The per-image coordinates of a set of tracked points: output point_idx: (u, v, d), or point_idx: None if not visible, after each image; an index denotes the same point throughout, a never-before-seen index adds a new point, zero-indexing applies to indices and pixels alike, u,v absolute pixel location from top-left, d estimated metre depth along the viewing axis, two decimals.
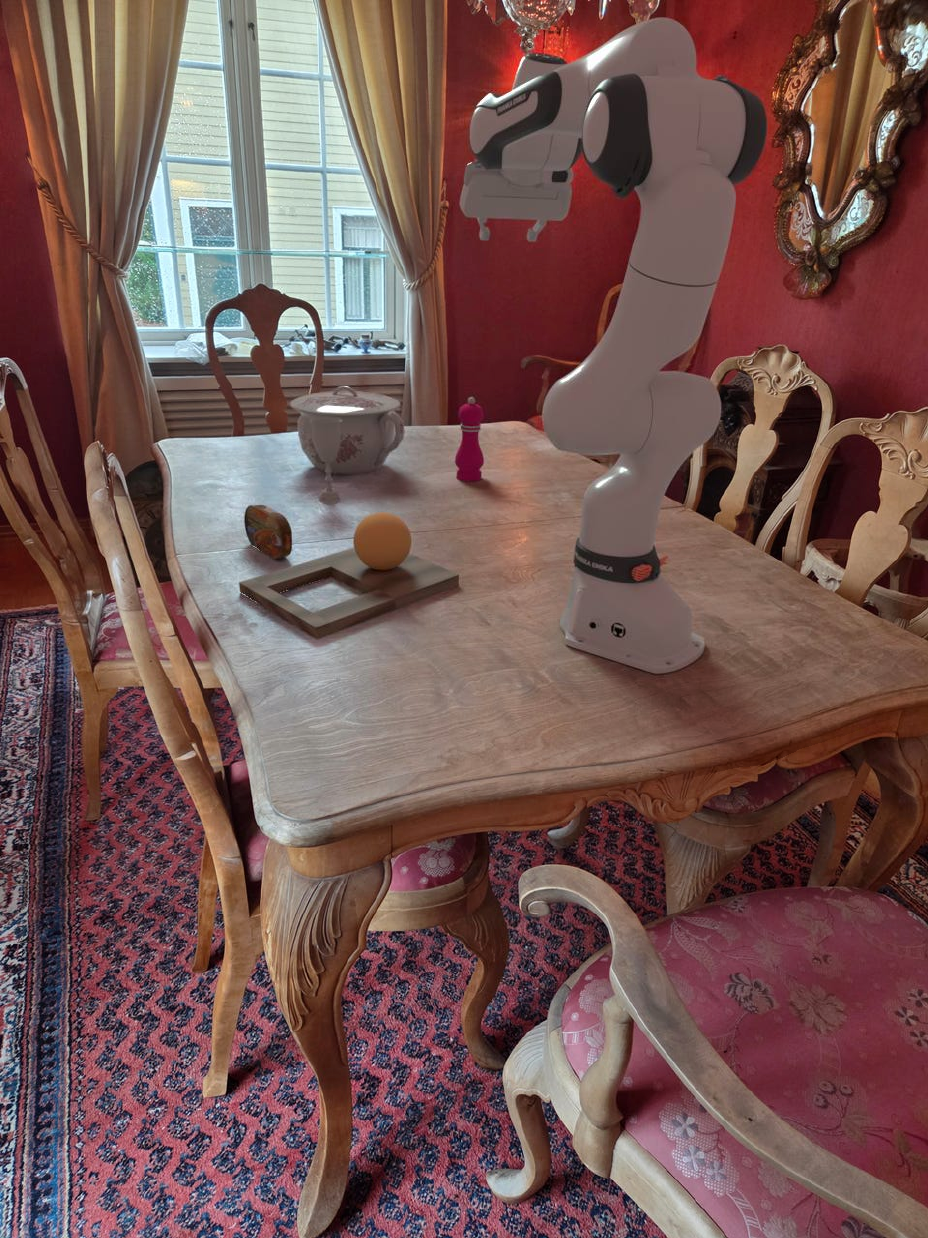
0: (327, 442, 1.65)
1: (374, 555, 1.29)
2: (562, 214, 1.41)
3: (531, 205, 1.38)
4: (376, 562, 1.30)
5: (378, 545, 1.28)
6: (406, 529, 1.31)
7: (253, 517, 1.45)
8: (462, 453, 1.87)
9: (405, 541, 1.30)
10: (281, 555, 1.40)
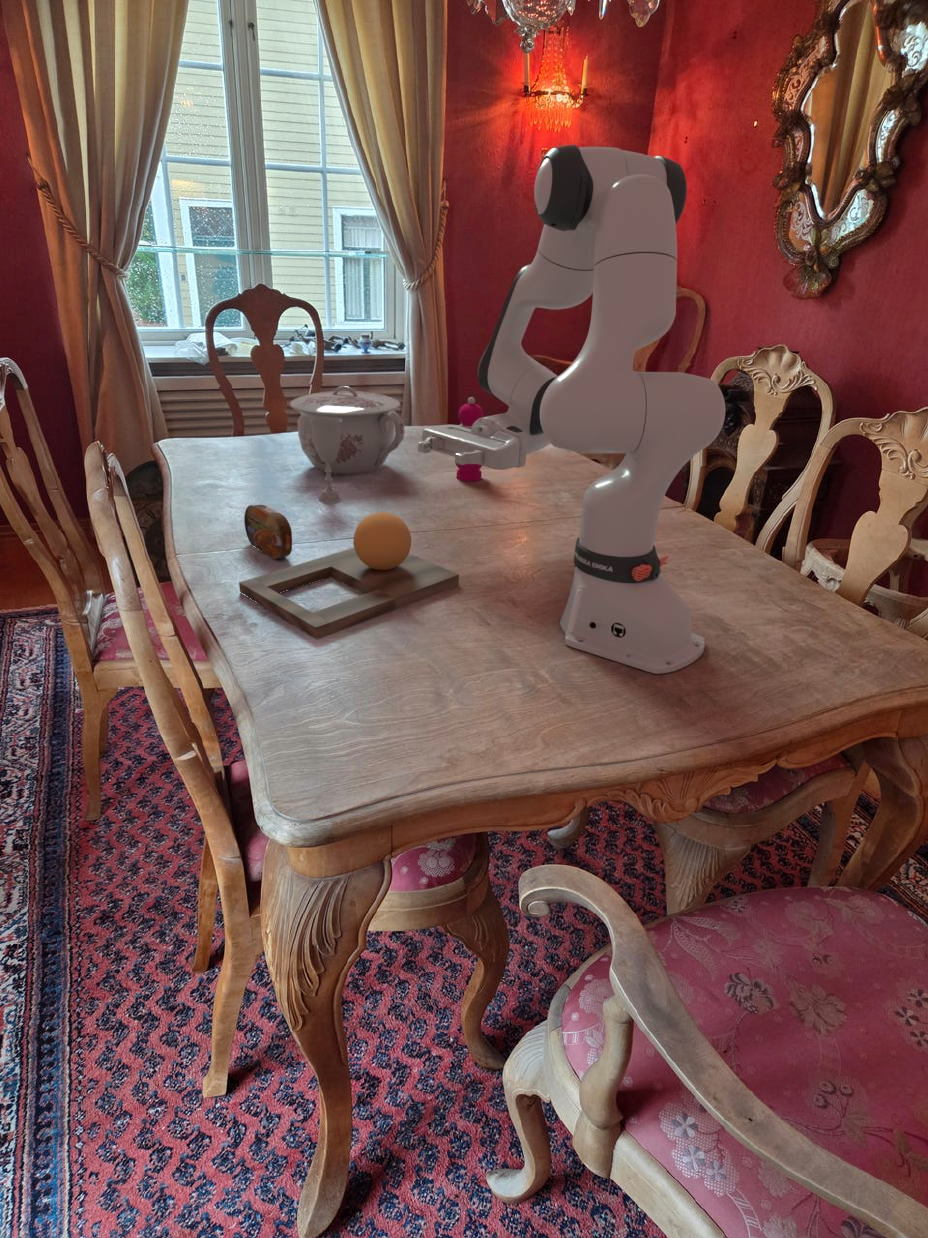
0: (327, 442, 1.65)
1: (374, 555, 1.29)
2: (499, 447, 1.33)
3: (478, 439, 1.37)
4: (376, 562, 1.30)
5: (378, 545, 1.28)
6: (406, 529, 1.31)
7: (253, 517, 1.45)
8: None
9: (405, 541, 1.30)
10: (281, 555, 1.40)
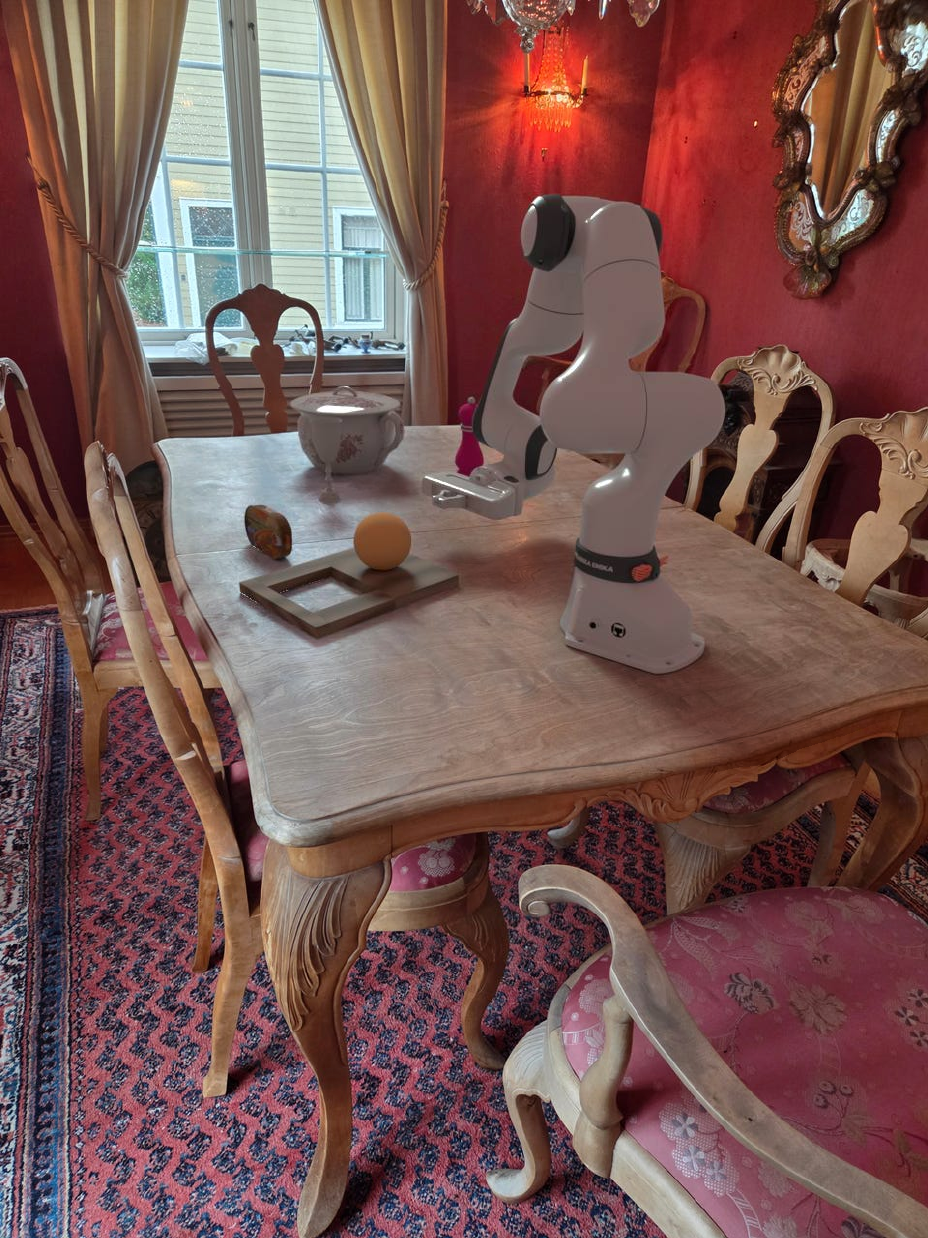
0: (327, 442, 1.65)
1: (374, 555, 1.29)
2: (496, 498, 1.37)
3: (475, 488, 1.42)
4: (376, 562, 1.30)
5: (378, 545, 1.28)
6: (406, 529, 1.31)
7: (253, 517, 1.45)
8: (462, 453, 1.87)
9: (405, 541, 1.30)
10: (281, 555, 1.40)
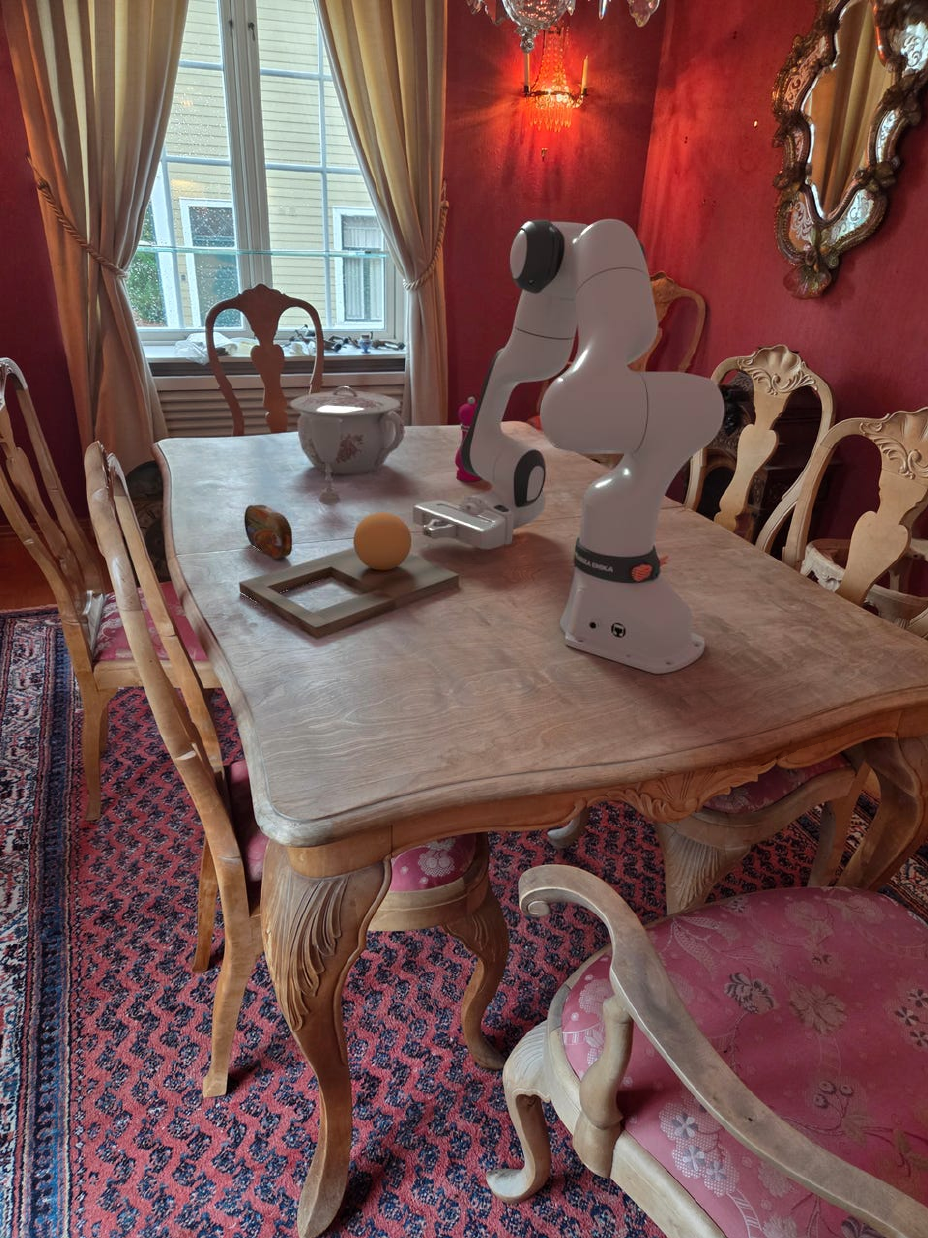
0: (327, 442, 1.65)
1: (374, 555, 1.29)
2: (485, 528, 1.37)
3: (465, 518, 1.42)
4: (376, 562, 1.30)
5: (378, 545, 1.28)
6: (406, 529, 1.31)
7: (253, 517, 1.45)
8: None
9: (405, 541, 1.30)
10: (281, 555, 1.40)
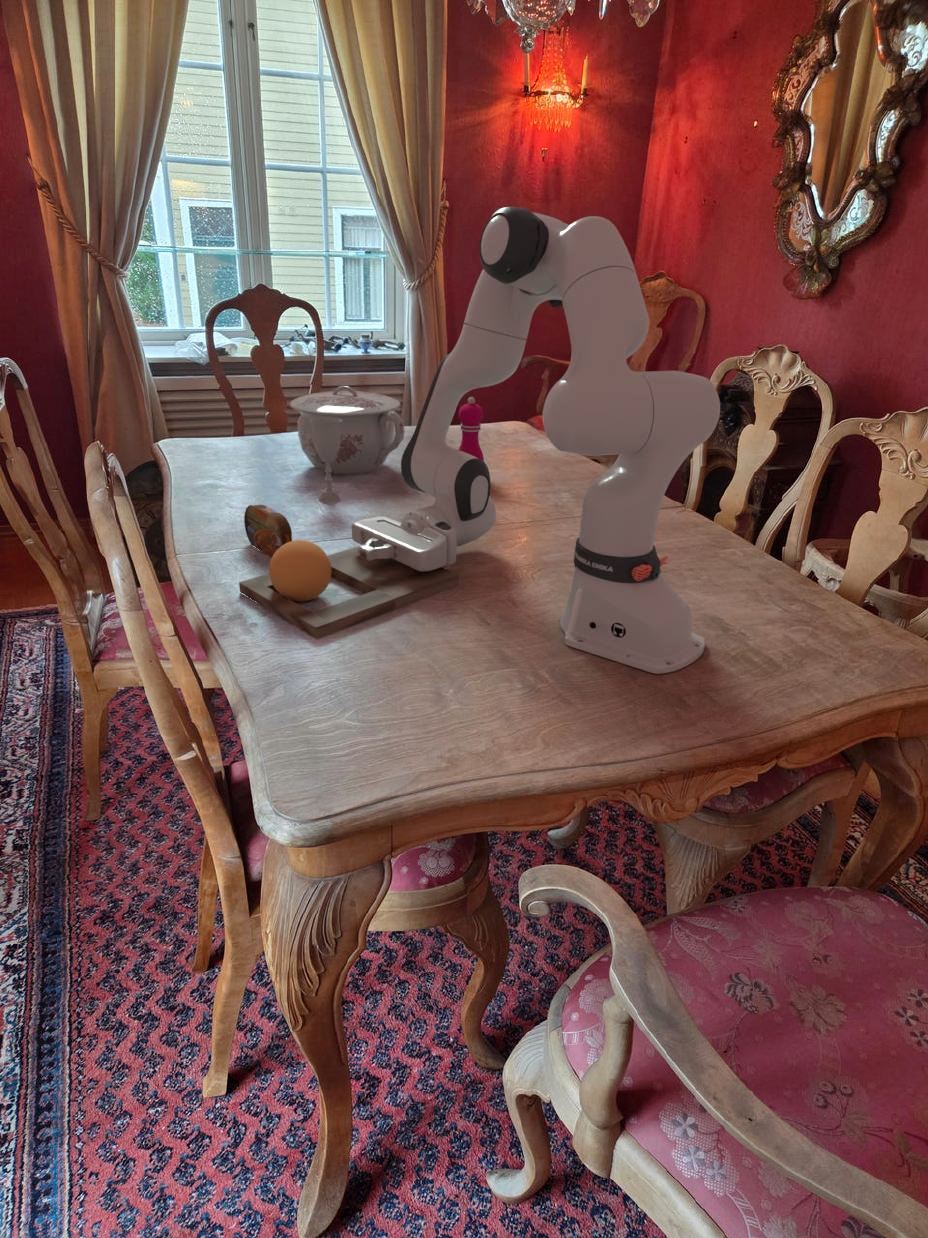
0: (327, 442, 1.65)
1: (329, 566, 1.24)
2: (423, 549, 1.28)
3: (405, 537, 1.33)
4: (325, 559, 1.24)
5: (329, 578, 1.25)
6: (295, 596, 1.23)
7: (253, 517, 1.45)
8: None
9: (305, 589, 1.22)
10: None
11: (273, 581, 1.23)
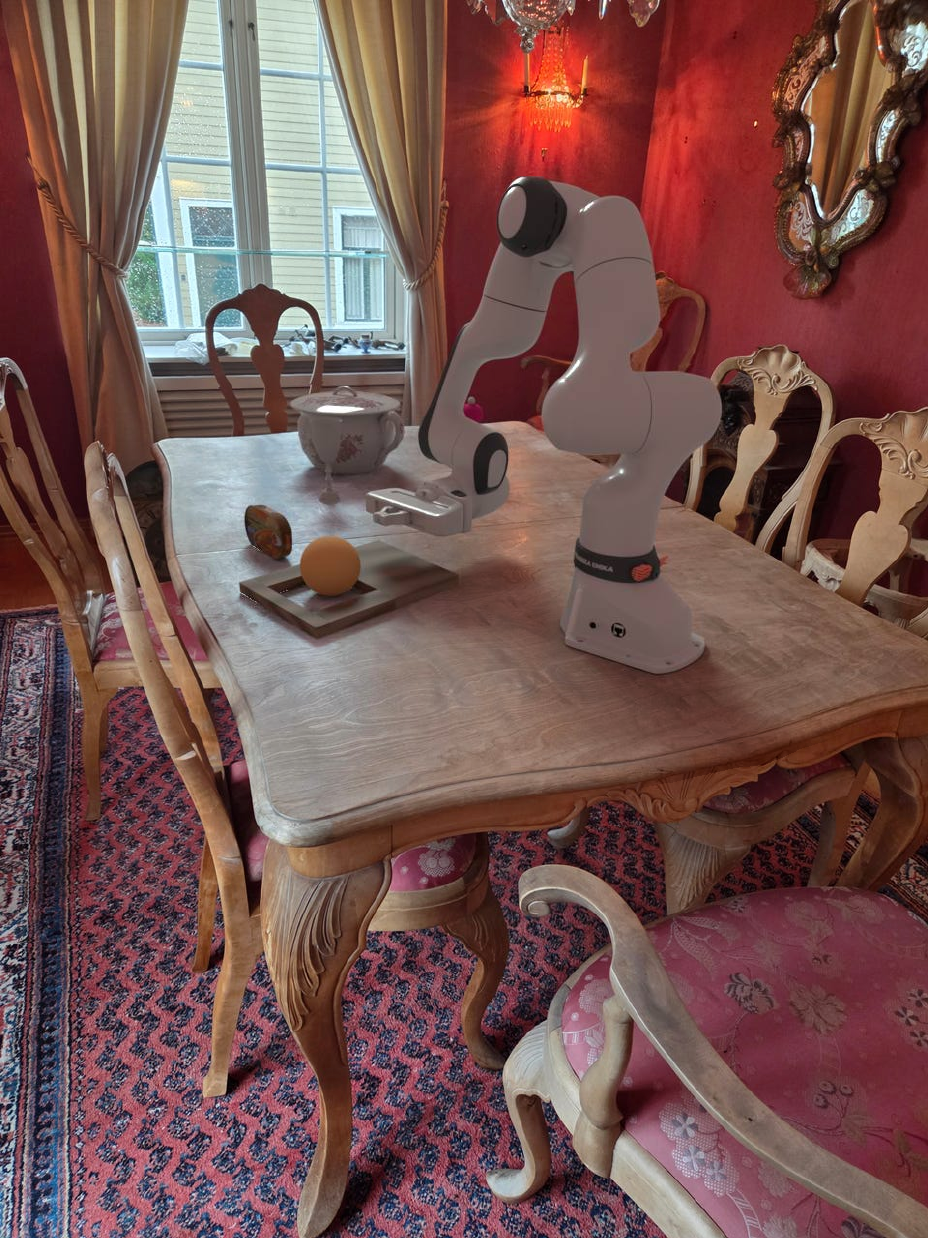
0: (327, 442, 1.65)
1: (353, 585, 1.28)
2: (440, 513, 1.27)
3: (420, 504, 1.32)
4: None
5: (345, 591, 1.27)
6: (316, 575, 1.23)
7: (253, 517, 1.45)
8: None
9: (332, 578, 1.23)
10: (281, 555, 1.40)
11: (313, 549, 1.23)
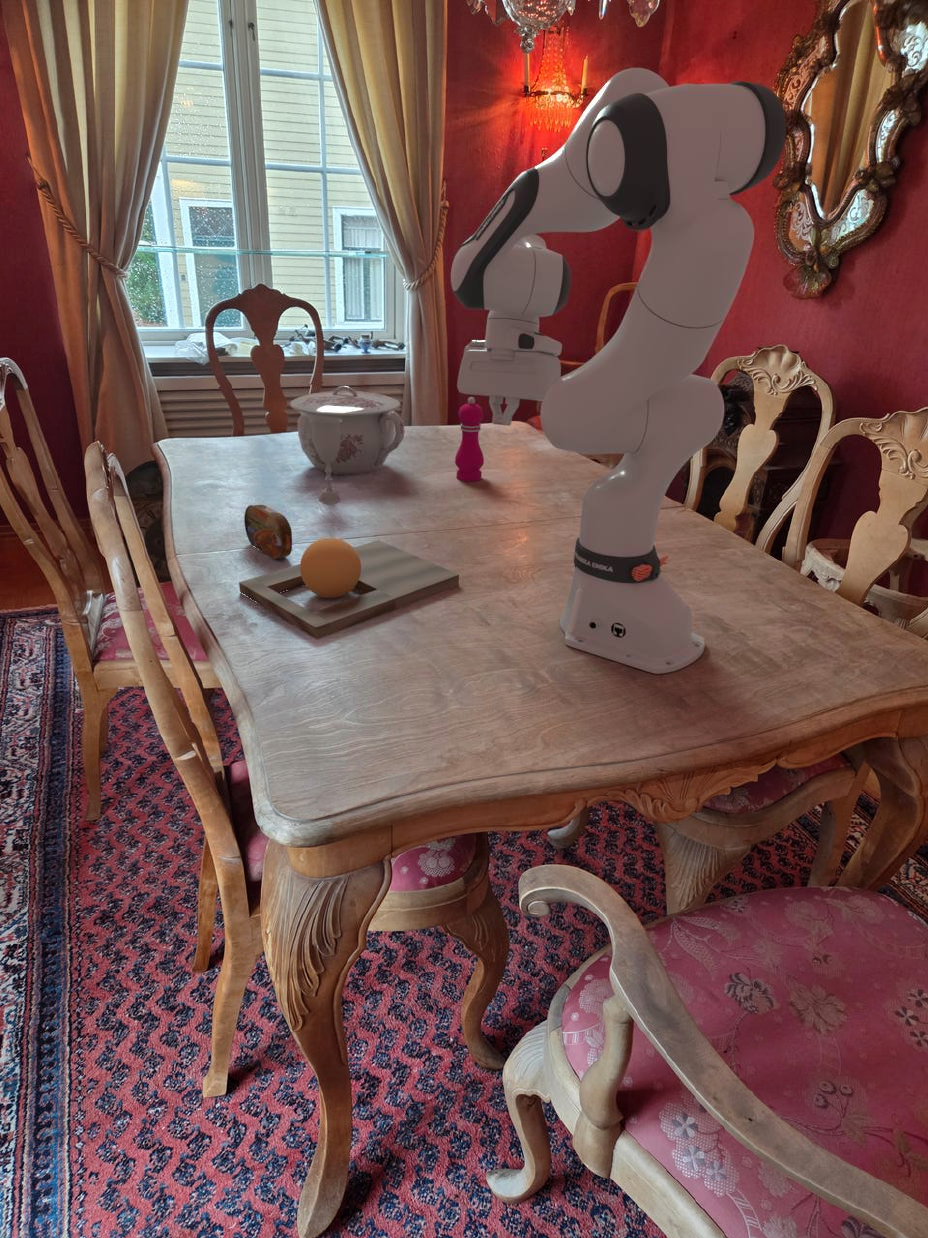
0: (327, 442, 1.65)
1: None
2: (540, 390, 1.24)
3: (510, 380, 1.28)
4: None
5: None
6: (317, 581, 1.23)
7: (253, 517, 1.45)
8: (462, 453, 1.87)
9: (332, 584, 1.23)
10: (281, 555, 1.40)
11: (313, 554, 1.22)
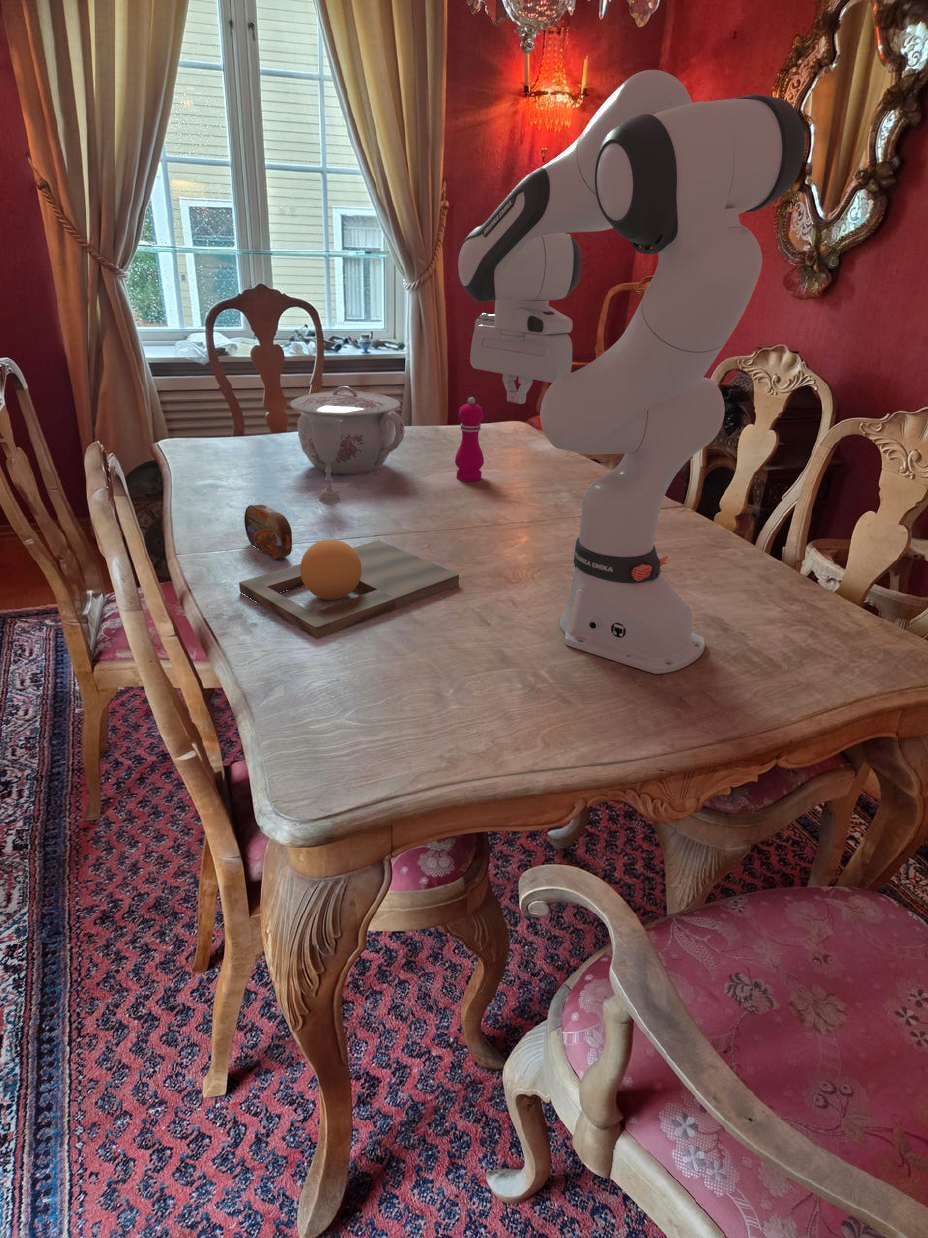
0: (327, 442, 1.65)
1: None
2: (551, 374, 1.23)
3: (522, 360, 1.27)
4: None
5: None
6: (317, 586, 1.22)
7: (253, 517, 1.45)
8: (462, 453, 1.87)
9: (333, 590, 1.23)
10: (281, 555, 1.40)
11: (314, 560, 1.22)
